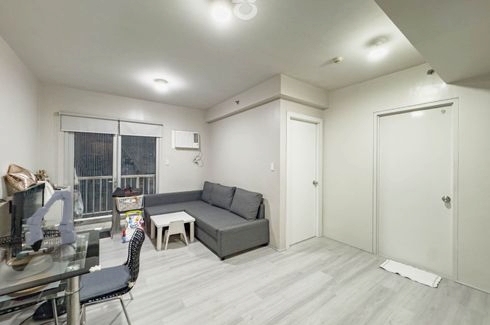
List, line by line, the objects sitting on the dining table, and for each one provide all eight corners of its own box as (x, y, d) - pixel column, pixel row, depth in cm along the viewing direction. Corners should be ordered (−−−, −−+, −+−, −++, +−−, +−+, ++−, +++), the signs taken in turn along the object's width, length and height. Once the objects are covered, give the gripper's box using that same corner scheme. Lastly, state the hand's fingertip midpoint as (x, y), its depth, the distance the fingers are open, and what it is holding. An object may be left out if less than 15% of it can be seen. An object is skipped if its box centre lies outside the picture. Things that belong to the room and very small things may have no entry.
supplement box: (44, 244, 168) (42, 229, 167) (34, 248, 160) (32, 232, 160) (36, 244, 169) (35, 229, 168) (26, 248, 161) (24, 232, 161)
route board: (58, 248, 158) (58, 244, 158) (53, 253, 150) (52, 248, 150) (22, 255, 149) (21, 250, 149) (14, 261, 141) (13, 256, 141)
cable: (54, 249, 155) (54, 245, 154) (52, 250, 152) (52, 247, 152) (22, 255, 147) (21, 251, 147) (19, 257, 144) (19, 253, 144)
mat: (63, 244, 165) (62, 244, 164) (59, 247, 159) (59, 247, 159) (26, 251, 155) (26, 251, 155) (21, 255, 150) (21, 254, 150)
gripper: (33, 230, 154) (35, 248, 154) (22, 237, 140) (24, 256, 141) (45, 228, 157) (47, 245, 157) (35, 235, 143) (37, 254, 144)
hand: (37, 250), depth 149 cm, fingers closed on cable, 2 cm apart
